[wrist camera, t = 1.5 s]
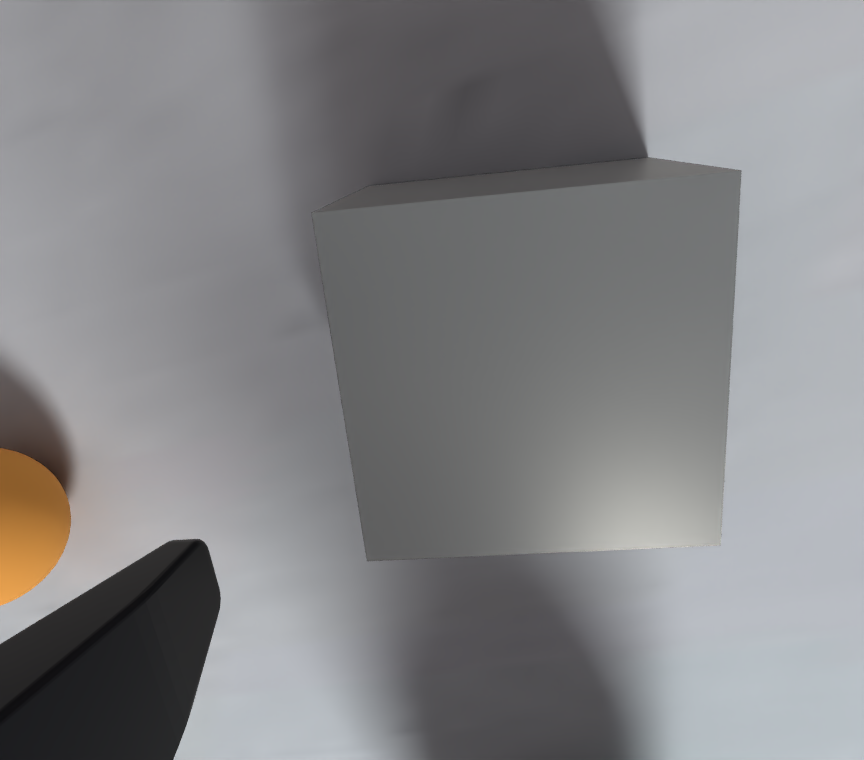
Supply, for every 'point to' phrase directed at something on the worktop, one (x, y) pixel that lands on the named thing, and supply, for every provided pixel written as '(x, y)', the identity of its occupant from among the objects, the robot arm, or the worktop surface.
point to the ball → (29, 523)
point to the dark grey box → (535, 356)
